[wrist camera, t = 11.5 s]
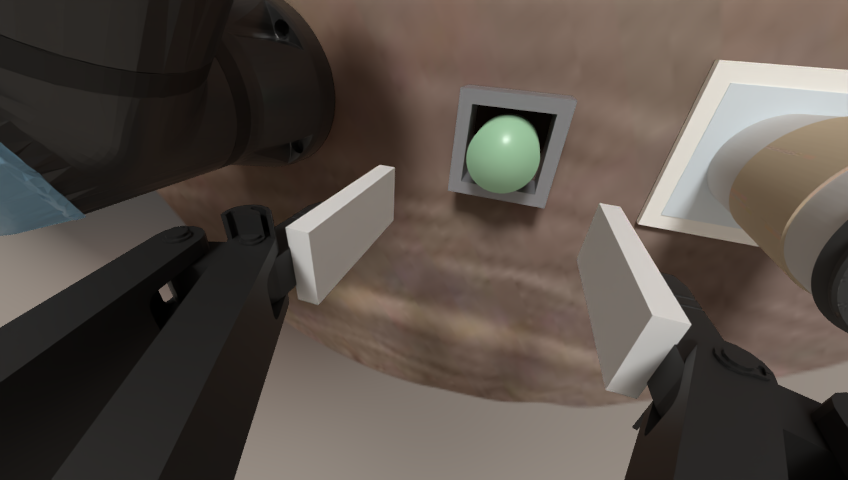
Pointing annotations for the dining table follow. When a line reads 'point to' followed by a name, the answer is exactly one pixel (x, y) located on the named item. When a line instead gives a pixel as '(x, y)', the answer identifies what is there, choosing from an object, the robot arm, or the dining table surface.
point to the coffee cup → (793, 200)
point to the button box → (521, 100)
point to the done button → (504, 154)
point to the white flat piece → (719, 121)
